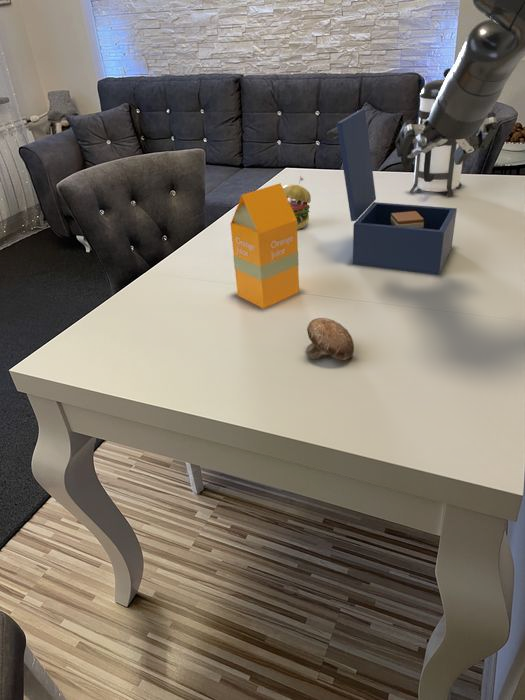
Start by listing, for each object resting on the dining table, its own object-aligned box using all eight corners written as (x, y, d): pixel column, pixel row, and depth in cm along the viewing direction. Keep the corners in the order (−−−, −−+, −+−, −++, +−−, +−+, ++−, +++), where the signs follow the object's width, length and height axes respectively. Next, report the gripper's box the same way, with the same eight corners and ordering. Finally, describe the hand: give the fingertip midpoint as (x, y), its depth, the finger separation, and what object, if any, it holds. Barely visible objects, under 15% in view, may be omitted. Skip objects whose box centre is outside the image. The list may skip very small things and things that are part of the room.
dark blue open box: (451, 250, 112) (456, 208, 107) (438, 277, 101) (444, 232, 97) (371, 242, 119) (373, 202, 114) (352, 266, 108) (353, 223, 103)
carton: (412, 248, 112) (416, 210, 107) (420, 257, 107) (424, 219, 103) (388, 250, 112) (390, 213, 107) (395, 260, 107) (398, 221, 103)
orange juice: (237, 297, 100) (226, 191, 89) (272, 282, 104) (266, 179, 94) (264, 311, 95) (255, 199, 84) (300, 295, 99) (296, 186, 88)
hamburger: (274, 228, 130) (271, 178, 124) (295, 220, 134) (293, 171, 127) (296, 235, 125) (294, 184, 119) (317, 227, 129) (317, 176, 122)
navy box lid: (364, 108, 105) (341, 113, 107) (341, 122, 95) (316, 126, 97) (376, 199, 113) (354, 201, 116) (356, 220, 103) (332, 222, 105)
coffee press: (395, 187, 151) (403, 69, 135) (448, 181, 153) (462, 63, 137) (421, 205, 137) (433, 75, 121) (479, 198, 139) (499, 68, 123)
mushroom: (288, 347, 78) (312, 313, 76) (301, 339, 85) (323, 307, 84) (332, 380, 77) (358, 346, 75) (341, 369, 84) (365, 337, 82)
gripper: (512, 68, 75) (468, 138, 90) (411, 77, 74) (385, 146, 90) (523, 115, 73) (477, 178, 89) (420, 124, 73) (392, 186, 89)
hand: (431, 162), depth 89 cm, fingers open, 8 cm apart
